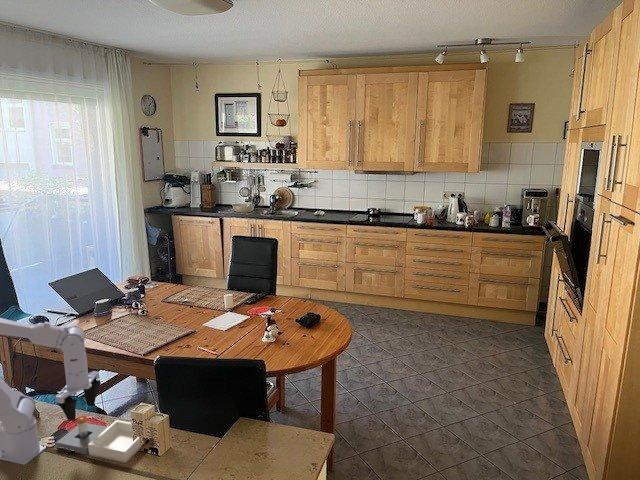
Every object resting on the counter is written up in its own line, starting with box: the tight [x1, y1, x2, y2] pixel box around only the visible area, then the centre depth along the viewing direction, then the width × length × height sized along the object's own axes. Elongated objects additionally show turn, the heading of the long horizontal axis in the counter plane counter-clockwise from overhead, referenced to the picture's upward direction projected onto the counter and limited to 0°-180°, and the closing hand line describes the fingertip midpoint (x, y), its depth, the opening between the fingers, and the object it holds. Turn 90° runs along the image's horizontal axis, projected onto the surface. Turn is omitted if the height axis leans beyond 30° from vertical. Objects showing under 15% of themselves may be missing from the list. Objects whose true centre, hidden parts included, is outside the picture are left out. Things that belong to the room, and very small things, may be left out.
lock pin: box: [76, 415, 88, 439], centre depth 137 cm, size 2×2×8 cm
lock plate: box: [55, 422, 109, 456], centre depth 137 cm, size 10×10×2 cm
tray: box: [88, 419, 141, 464], centre depth 135 cm, size 12×12×4 cm
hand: (81, 412), depth 135 cm, fingers open, 7 cm apart
